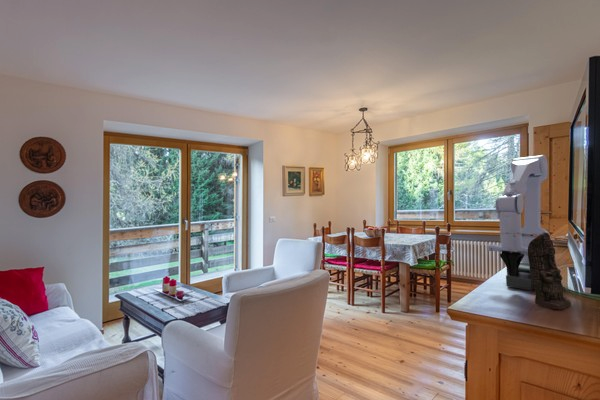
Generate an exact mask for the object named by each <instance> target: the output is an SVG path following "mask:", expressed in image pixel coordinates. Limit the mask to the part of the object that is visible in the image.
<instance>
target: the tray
mask: <svg viewBox="0 0 600 400" xmlns="http://www.w3.org/2000/svg"><path fill="white" fill-rule="evenodd" d="M505 280H506V281H505V284H506V287H508V288H509V287H510V288H515V289H520V290H525V291H533V290H535V289H534V287H533V283H532V279H529V278H523V277H517V276H509V275H507V274H506V275H505Z"/></svg>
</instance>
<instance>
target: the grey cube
mask: <svg viewBox="0 0 600 400" xmlns="http://www.w3.org/2000/svg"><path fill="white" fill-rule="evenodd" d="M518 273H519V277H523V278H529V279H531V274H530V271H524V270H519V271H518Z"/></svg>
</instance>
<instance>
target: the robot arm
mask: <svg viewBox="0 0 600 400" xmlns="http://www.w3.org/2000/svg"><path fill="white" fill-rule="evenodd" d="M510 168H511V169H510V170H511V172H512V174H513V176H512V179H511V180H510V181H507V183H506V185H505V188H504V190H503V192H502V194H501V195H500V196H499V197H497V198H496V199H495V206H494V207H495V211H496V214H497V215H496V216H497V219H498V220H499V233H500V234H499V236H500V237H499V238H500V239H499V240H500V244H486V251H488V252H499V257H500V258H501V259H502V261H503V263H504V265H505V267H506V271H507V270H508V273H509V276H517V272H518V268H519V265H520V263H526V264H529V259H528V246H529V243H530V242H531V241H532V240H533V239H534V238H535V237H537V236H538V235H540V234H541V233H543V232H545V233H548V234H549V235H550V236H551V234H550V232H549V231H547V230H546V229H545V228H543V227H542V226H541V224H542V223H541V220H542V219H541V216H542V213H541V212H542V211H541V207H542V204H541V203H542V201H541V200H542V195H541V194H542V184H543V182H544V181H545V180H547V179H548V175H549V173H548V171H549V164H548V159H547V156H546V155H544V154H541V155H533V156H532V155H531V156H523V157H514V158H513V159H512V160H511V162H510ZM523 211H524V221H523V222H524V224H523V225H524V226H522V215H521V214H522V213H523ZM550 240H552V238H550Z"/></svg>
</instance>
